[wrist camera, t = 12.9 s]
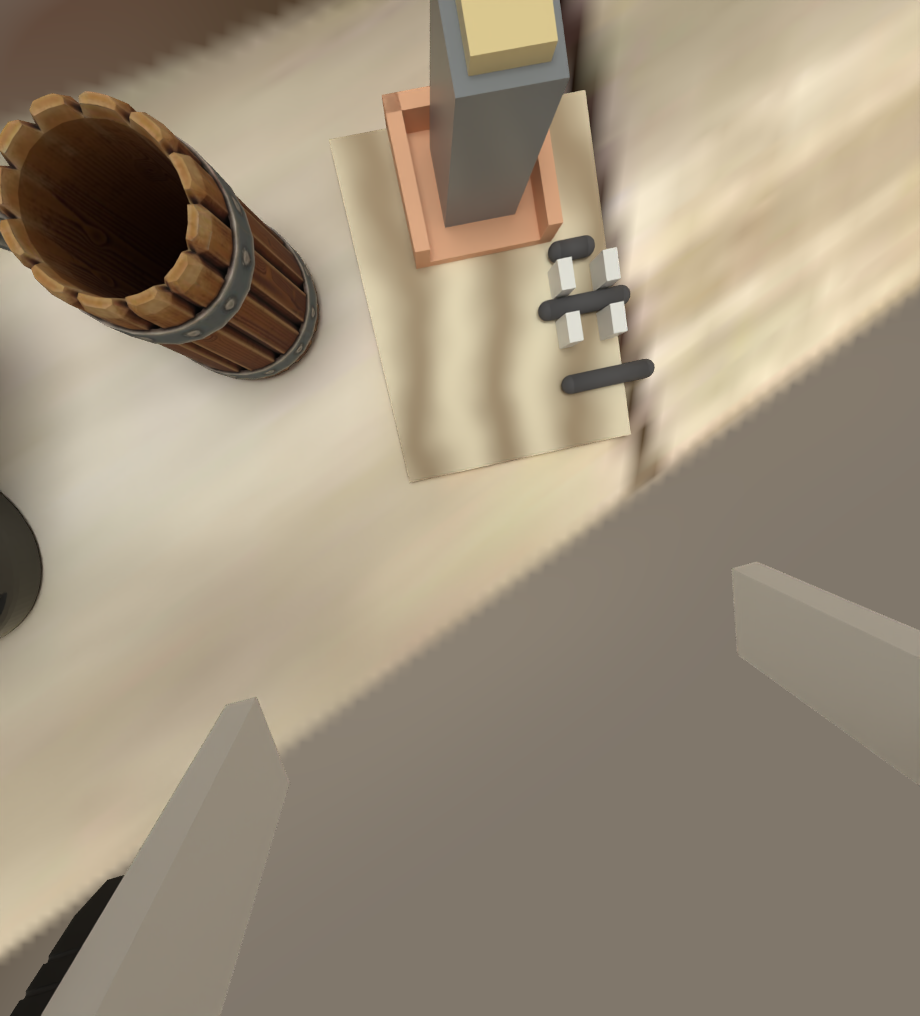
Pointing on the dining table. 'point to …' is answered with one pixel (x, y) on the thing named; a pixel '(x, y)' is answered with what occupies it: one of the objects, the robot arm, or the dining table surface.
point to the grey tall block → (491, 100)
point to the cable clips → (602, 277)
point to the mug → (150, 238)
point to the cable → (586, 304)
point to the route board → (480, 320)
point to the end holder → (422, 202)
